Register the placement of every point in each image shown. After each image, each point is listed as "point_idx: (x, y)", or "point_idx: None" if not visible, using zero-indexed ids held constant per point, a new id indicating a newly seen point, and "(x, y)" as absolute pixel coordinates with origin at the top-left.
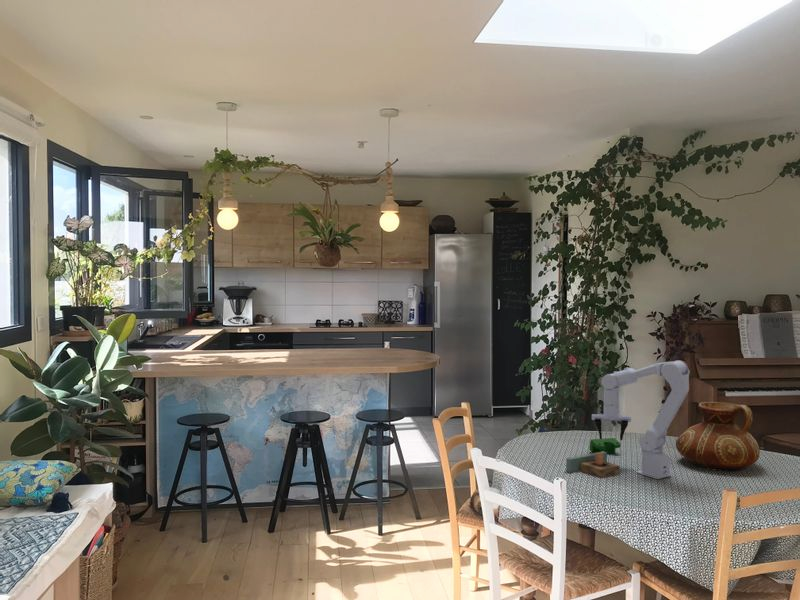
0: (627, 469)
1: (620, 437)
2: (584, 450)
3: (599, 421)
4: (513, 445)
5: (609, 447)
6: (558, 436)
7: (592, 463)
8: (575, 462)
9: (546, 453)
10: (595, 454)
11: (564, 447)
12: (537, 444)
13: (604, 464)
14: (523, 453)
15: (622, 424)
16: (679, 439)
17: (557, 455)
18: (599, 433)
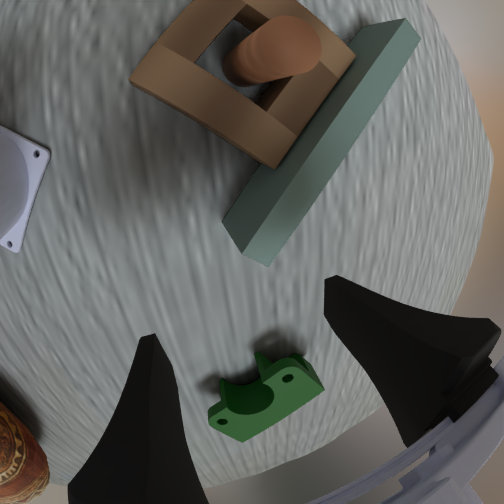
0: (105, 200)
1: (157, 354)
2: (318, 363)
3: (459, 385)
4: (460, 285)
5: (245, 398)
6: (362, 406)
7: None
8: (377, 39)
9: (422, 263)
10: (314, 34)
11: None
12: None
13: (227, 86)
14: (462, 228)
15: (132, 494)
16: (5, 454)
17: (401, 260)
18: (375, 293)
